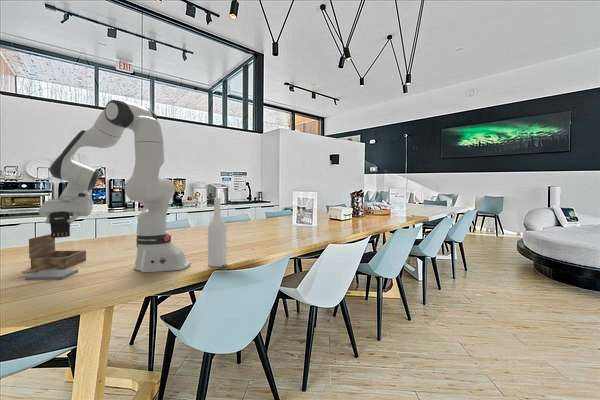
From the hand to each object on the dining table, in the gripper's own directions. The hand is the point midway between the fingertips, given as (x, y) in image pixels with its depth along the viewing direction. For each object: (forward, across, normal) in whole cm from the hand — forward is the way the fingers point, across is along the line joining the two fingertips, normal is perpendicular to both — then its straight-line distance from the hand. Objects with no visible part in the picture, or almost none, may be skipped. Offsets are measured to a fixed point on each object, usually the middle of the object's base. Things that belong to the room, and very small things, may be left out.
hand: (58, 222), depth 135 cm
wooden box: (+14, -1, +12) cm, 18 cm away
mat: (+25, +8, +1) cm, 26 cm away
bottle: (+17, +68, +11) cm, 70 cm away
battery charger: (+4, 0, +5) cm, 7 cm away
